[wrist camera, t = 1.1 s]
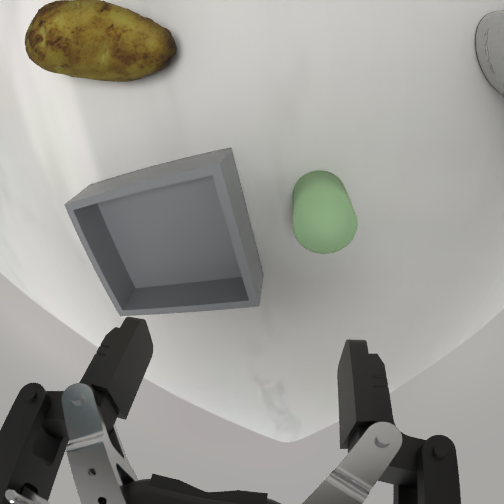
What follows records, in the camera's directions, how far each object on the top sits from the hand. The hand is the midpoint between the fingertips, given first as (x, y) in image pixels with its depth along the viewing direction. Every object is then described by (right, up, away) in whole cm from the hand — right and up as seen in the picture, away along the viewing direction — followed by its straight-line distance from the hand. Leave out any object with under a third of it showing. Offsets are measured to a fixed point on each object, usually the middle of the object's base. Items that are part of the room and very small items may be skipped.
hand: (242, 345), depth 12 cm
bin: (-8, +6, +21) cm, 23 cm away
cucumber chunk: (+7, +9, +17) cm, 20 cm away
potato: (-12, +23, +11) cm, 28 cm away
